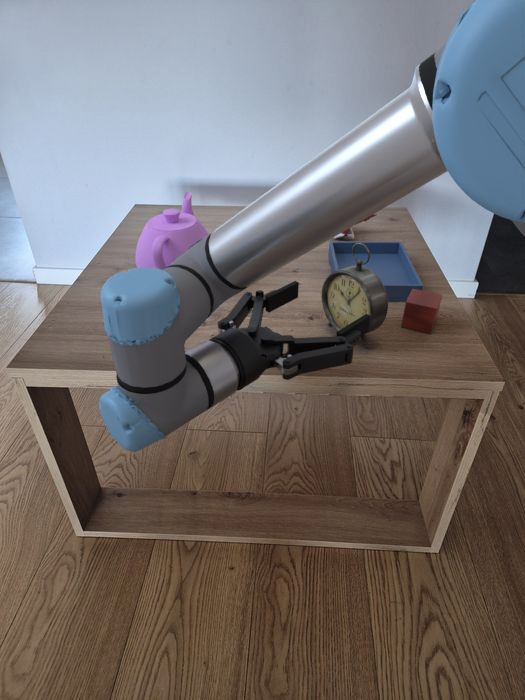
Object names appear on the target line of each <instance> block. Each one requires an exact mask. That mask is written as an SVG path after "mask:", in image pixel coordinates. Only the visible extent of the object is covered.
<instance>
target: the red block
mask: <svg viewBox="0 0 525 700" xmlns="http://www.w3.org/2000/svg"><path fill="white" fill-rule="evenodd" d="M442 298H443V294H440V293H436V292H431V291H426V290H417V289H412V291H411V293H410V295H409V297H408V299H407V301H405V305H404V310H403V315H402V320H401V326H400V327H401V328H403V329H407V330H413V331H416V332H420V333H425V334H429V335H431V334H432V332H433V330H434V328H435V325H436V322H437V319H438V315H439V311H440V307H441V303H442Z"/></svg>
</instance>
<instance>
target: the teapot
mask: <svg viewBox="0 0 525 700" xmlns="http://www.w3.org/2000/svg"><path fill="white" fill-rule="evenodd" d="M192 195H193V194H192V191H186V192H185V193H184V195H183V198H182V207H181V210H179V209H178V208H167V209H165V210H163V211H162V213H159V214H157V215H155V216H152V217H151V218H150V219H148V221H147V222H146V223H145V225H144V227H143V229H142V232H141V234H140V236H139V238H138V240H137V243H136V248H135V265H136V268H140V267H149V268H156V269H160V270H163V269H164V268H166V267H167V266H168V265H170V264H171V263H172V262H173V261H174V260H176V259H177V258H178V257H179V256H181V255H182V254H183V253H184V252H186V251H187V250H188V249H189V248H190V247H191V246H192V245H194V244H195V243H196V242H197V241H199V240H200V239H202V238H205V237H206V236H208V235H209V234H210V233H209V231H208V230H207V229H206V227H205V226H204V225H203V223H202V222H201V221H200V220H199V219H198V218H197V217H196V216H195V215H194V214H195V213H194V210H193V205H192V203H193V202H192V199H193V197H192Z"/></svg>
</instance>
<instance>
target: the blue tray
mask: <svg viewBox="0 0 525 700" xmlns="http://www.w3.org/2000/svg"><path fill="white" fill-rule="evenodd" d="M356 243H362V244H364V245H365V246H367V248H368V249H369V252H370V259H369V261H368V262H367V263H366V264H362V266H363V267H366V268H368V269H369V270H371V271H372V272H374V273H375V274H376V275H377V276H378V278H379V279H380V280H381V282H382V284H383V285H384V288H385V290H386V293H387V298H388V302H406V301H407V299H408V297H409V295H410V293H411V291H412V289H417V290H422V291H424V290H423V289H424V284H423V282H422V280H421V278H420V276H419V275H418V272H417V270H416V268H415V266H414V264H413V262H412V260H411V258H410V256H409V253H408V252H407V250H406V248H405V246H404V243H403V241H348V240H347V241H344V240H343V241H342V240H341V241H338V240H337V241H336V240H335V241H334V240H333V241H332V240H331V241H330V240H329V243H328V244H329V245H328V261H329V265H330V270H331V273H332V272H334V271H337V270H341V269H344V268H347V267H350V266H357V264H356V260H355V259H354V257H353V254H352V248H353V246H354V245H355V244H356ZM354 255H355V257H356V259H357V260H362V262H363V263H364V262H366V261H367V259H368V253H367V250H366V249H365V247H363V246H362V245H357V246H356V247H355V248H354Z"/></svg>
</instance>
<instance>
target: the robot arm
mask: <svg viewBox="0 0 525 700" xmlns="http://www.w3.org/2000/svg"><path fill="white" fill-rule="evenodd" d="M447 172H448V174H449V176H450V177H451V179H452V180H453V181H454V182H455V184H456V185H457V186H458V188H459V189H460V190H461V191H462V192H463V193H464V194H465V195H467V197H468V198H470V200H472V201H473V202H475V203H476V204H477V205H479V206H480V207H482V208H483V209H484V210H487V211H488V212H490V213H492V214H494V215H496V216H498V217H501V218H503V219H506V220H510V221H511V222H512V223H513V224H514V226H515V227H516V228H517V229H518V231H519V232H520V234H521V235H523V236H524V237H525V0H473V1H472V3H470V5H469V6H468V7H467V8H466V10H464V11H463V12H461V15H460V16H459V18H458V21H457V22H456V24H455V26H454V28H453V29H452V31H451V32H450V34H449V36H448V40H447V42H446V43H444V45H443V46H441V47H440V48H438V50H436V51H435V52H434V53H432V54H431V55H430V56H429V57H427V58H426V59H425V60H423V61H422V62H420V63H418V64H417V66H416V67H415V69H414V73H413V78H412V82H411V84H410V86H409V87H408V88H407V89H405V90H404V91H403V92H401V93H400V94H399V95H397V96H396V97H395V98H393V99H392V100H391V101H389V102H388V103H385V105H384V106H382V107H381V108H379V109H378V110H377V111H375V112H374V113H372V115H370V116H369V117H366V119H365V120H363V121H362V122H360V123H359V124H357V125H356V126H355V127H354V128H352V129H351V130H349V131H348V132H347V133H345V134H344V135H342V136H341V137H340V138H339V139H337V140H335V141H334V142H333V143H332V144H330V145H329V146H328V147H326V148H324V150H322V151H321V152H319V153H318V154H317V155H315V156H314V157H313V158H311V159H309V161H307V162H306V163H304V164H303V165H302V166H301V167H299V168H298V169H297V170H295V171H293V172H292V173H291V174H289V175H288V176H287V177H285V178H283V180H281V181H280V182H278V183H277V184H275V185H274V186H273V187H272V188H270V189H269V190H268V191H266V192H264V194H262V195H260V196H259V197H257V199H255V200H254V201H253V202H251V203H250V204H248V205H247V206H246V207H244V208H242V209H241V210H240V211H239V212H238V213H236V214H235V215H233V216H232V217H230V218H229V219H228V220H226V221H225V222H224V223H223V224H221V225H220V226H218V227H217V228H216V229H214V230H213V231H212V232H211V233H209V235H208V236H206V237H205V238H202V239H200V240H199V241H197V242H196V243H195V244H194V245H192V246H191V247H190V248H189V249H188V250H187V251H186V252H184V253H183V254H182V255H181V256H179V257H178V258H177V259H176V260H174V261H173V262H172V263H171V264H170V265H168V266H167V267H166V268H164V269H163V270H160V269H156V268H149V267H140V268H137V267H134V268H129V269H127V271H124V272H117V273H115V274H113V275H112V276H111V277H109V278H108V279H107V280H106V281H105V282H104V284H103V285H102V286H101V290H100V302H101V311H102V317H103V321H102V325H103V329H104V332H105V334H106V336H107V340H108V344H109V348H110V352H111V356H112V360H113V361H112V362H113V364H114V369H115V372H116V374H115V378H116V382H117V386H112V387H111V388H110V389H109V390H108V391H106V392H104V393H103V394H101V396H100V397H99V403H98V409H99V413H100V416H101V419H102V421H103V423H104V426H105V427H106V429H107V431H108V432H109V434H110V435H111V437H112V438H113V439H114V440H115V442H116V443H117V444H118V445H119V446H120V447H121V448H122V449H124V450H126V451H128V452H133V453H134V452H136V453H137V452H139V451H142V450H143V449H146V448H147V447H150V446H151V445H153V444H154V443H158V442H159V441H160V440H165V439H166V437H167V436H169V435H170V434H172V433H173V432H175V431H176V430H178V429H180V428H181V427H183V426H184V425H186V424H187V423H189V422H191V421H193V420H194V419H196V418H197V417H199V416H200V415H202V414H203V413H205V412H207V411H208V410H210V409H211V408H214V407H215V406H216V405H218V404H219V403H221V402H223V401H224V400H226V399H228V398H229V397H231V396H233V395H234V394H235V393H236V392H237V391H238V392H239V391H241V390H243V389H244V388H246V387H247V386H249V385H251V384H252V383H254V382H256V381H257V380H259V378H260V377H261V376H262V375H263V373H264V372H265V371H266V370H268V369H274V368H276V369H278V370H279V371H280V372H281V375H282V376H281V378H282V379H283V380H284V381H285V380H286V381H289V380H292V379H293V378H296V377H297V376H299V375H302V374H307V373H312V372H317V371H322V370H326V369H327V370H328V369H331V368H336V367H342V366H346V365H351V364H352V363H353V358H354V350H355V345H358V343H360V341H361V336H363V335H364V334H365V335H367V334H368V333H367V332H368V330H369V323H370V315H368V314H365V315H363V316H362V317H360V318H358V319H357V320H355V321H354V322H352V323H350V324H349V325H347V326H346V327H344V328H342V329H341V330H339V331H336V336H335V335H333V336H313V337H294V336H293V335H292V334H286V335H285V334H284V335H282V334H281V333H279V332H276V331H273V330H272V329H271V328H270V327H268V326H262V323H263V317H264V310H265V312H267V313H272V312H273V311H275V310H277V309H279V308H281V307H283V306H284V305H287V304H289V303H291V302H292V301H295V300H296V299H298V298H299V286H300V283H299V282H298V281H296V280H294V281H292V282H290V283H288V284H285V285H283V286H282V287H280V288H278V289H273V290H271V291H269V292H267V293H264V292H265V291H264V290H262V289H258V290H255V295H253V293H252V292H251V291H246V292H244V294H243V295H242V296H241V297H240V299H239V300H238V301H237V302H236V304H235V305H234V306H233V307H232V309H231V310H230V311H229V313H228V314H227V316H225V317H223V318H222V319H220V320H219V321H218V322H217V333H218V334H217V335H215V336H213V337H211V338H209V339H208V340H204V341H202V342H200V343H198V344H196V345H195V346H192V347H191V348H189V349H187V350H186V347H185V344H186V342H187V340H188V339H189V338H190V337H191V336H192V335H193V334H194V333H195V332H196V331H197V330H198V329H199V328H200V327H201V326H202V325H203V324H204V323H205V321H207V319H209V318H210V317H211V315H212V314H213V313H214V312H215V311H216V310H217V309H218V308H219V307H220V306H221V305H222V304H224V303H225V302H226V301H228V300H229V299H232V298H233V297H235V296H236V295H238V294H240V293H241V292H243V291H244V290H246V289H247V288H249V287H251V286H253V285H254V284H256V283H258V281H260V280H262V279H264V278H265V277H266V278H267V276H270V275H271V274H273V273H274V272H276V271H278V270H280V269H281V268H283V267H285V266H286V265H288V264H290V263H292V262H294V261H295V260H297V259H299V258H300V257H302V256H304V255H305V254H307V253H309V252H311V251H312V250H314V249H316V248H318V247H320V246H322V245H323V244H324V243H327V242H328V241H330V240H332V239H334V238H333V237H335V236H337V235H338V234H340V233H342V232H344V231H345V230H347V229H349V228H350V227H351V228H352V227H354V226H356V225H358V224H357V223H359V222H361V221H363V220H364V219H366V218H368V217H369V216H371V215H374V214H377V213H378V212H381V211H382V210H383V209H385V208H387V207H388V206H390V205H392V204H394V203H395V202H397V201H399V200H400V199H402V198H404V197H405V196H408V195H409V194H411V193H413V192H414V191H416V190H418V189H420V188H422V187H424V186H425V185H426V184H429V183H431V182H432V181H433V180H435V179H437V178H439V177H440V176H442V175H444V174H445V173H447ZM376 212H377V213H376ZM363 222H364V221H363ZM361 223H362V222H361ZM359 224H360V223H359ZM250 312H251V316H250V317H249V322H248V325H247V327H241V325H242V323H244V321H245V320H246V318H247V317H248V315H249V314H250ZM284 345H287V351H286V352H284V347H285V346H284Z"/></svg>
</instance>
